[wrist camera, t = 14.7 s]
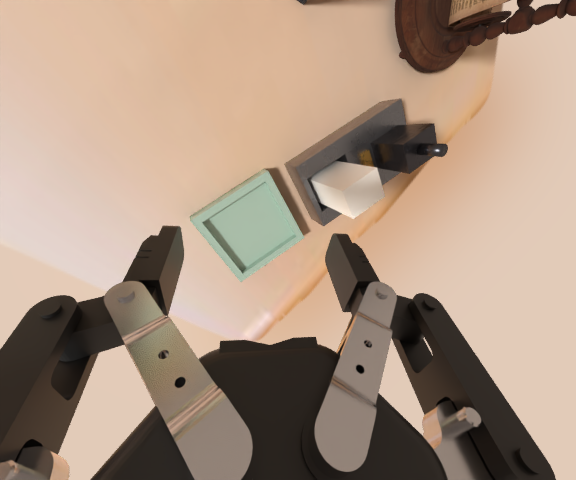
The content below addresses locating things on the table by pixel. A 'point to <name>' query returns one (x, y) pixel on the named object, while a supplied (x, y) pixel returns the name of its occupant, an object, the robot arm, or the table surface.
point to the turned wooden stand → (461, 26)
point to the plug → (347, 187)
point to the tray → (248, 225)
